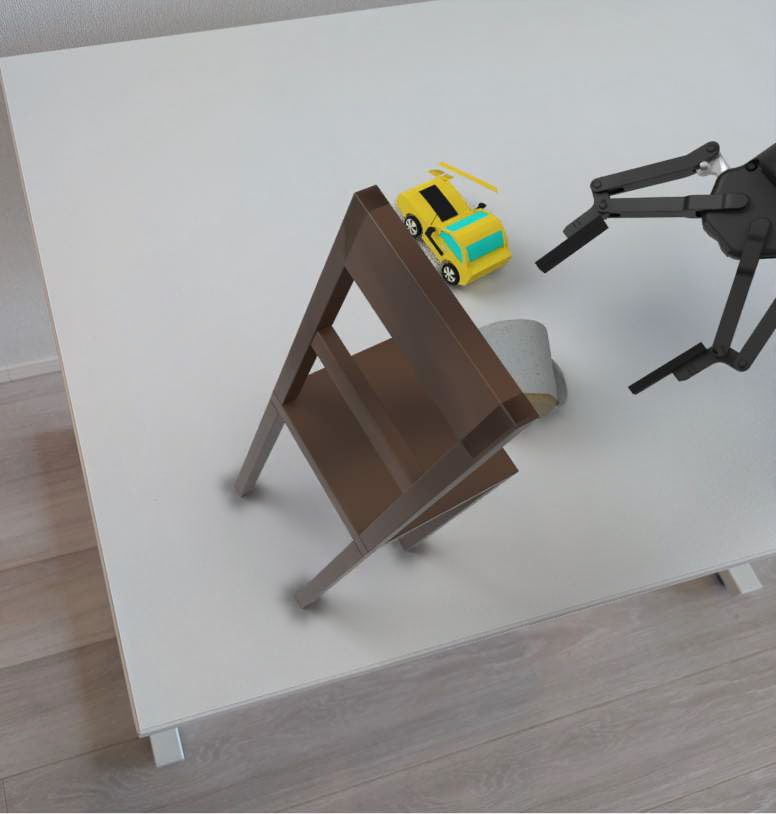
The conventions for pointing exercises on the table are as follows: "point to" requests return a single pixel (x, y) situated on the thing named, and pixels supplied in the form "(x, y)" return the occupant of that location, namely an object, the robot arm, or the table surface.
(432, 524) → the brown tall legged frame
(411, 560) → the table surface
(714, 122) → the table surface
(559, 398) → the ceramic mug
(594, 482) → the table surface
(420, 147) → the table surface
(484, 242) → the toy car
